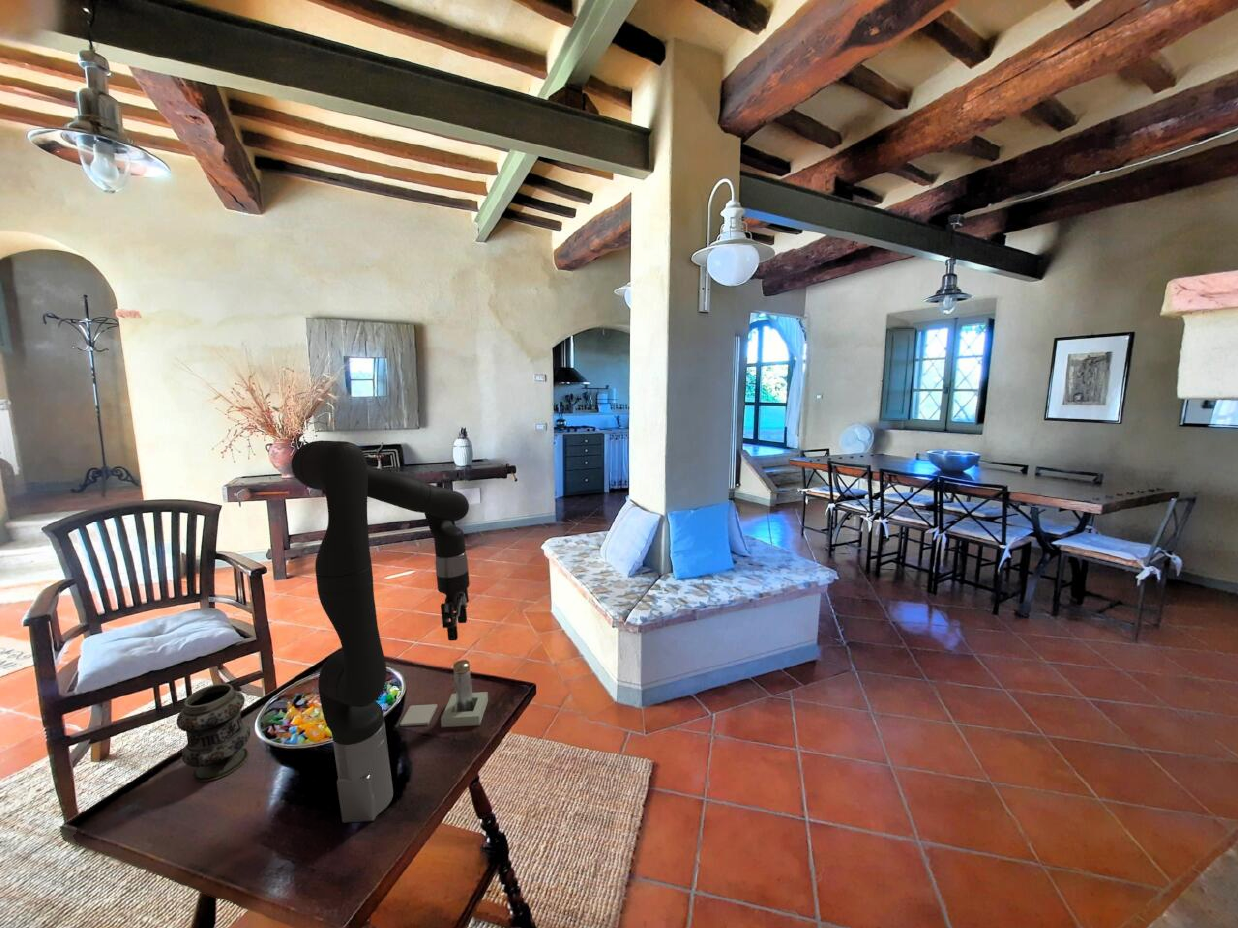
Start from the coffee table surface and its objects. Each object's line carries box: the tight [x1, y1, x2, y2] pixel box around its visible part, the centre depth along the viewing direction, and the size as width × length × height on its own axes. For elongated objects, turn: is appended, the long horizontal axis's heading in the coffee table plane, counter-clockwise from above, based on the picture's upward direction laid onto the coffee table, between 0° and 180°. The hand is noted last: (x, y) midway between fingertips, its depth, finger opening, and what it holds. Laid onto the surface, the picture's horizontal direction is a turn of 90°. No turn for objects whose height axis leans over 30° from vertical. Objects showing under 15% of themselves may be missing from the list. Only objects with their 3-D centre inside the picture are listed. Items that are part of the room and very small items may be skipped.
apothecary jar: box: [176, 683, 251, 783], centre depth 109 cm, size 12×12×18 cm
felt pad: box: [399, 703, 438, 727], centre depth 125 cm, size 7×7×1 cm
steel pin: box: [452, 659, 474, 712], centre depth 125 cm, size 4×4×14 cm
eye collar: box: [440, 691, 489, 728], centre depth 126 cm, size 10×10×2 cm
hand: (458, 630), depth 122 cm, fingers open, 8 cm apart
